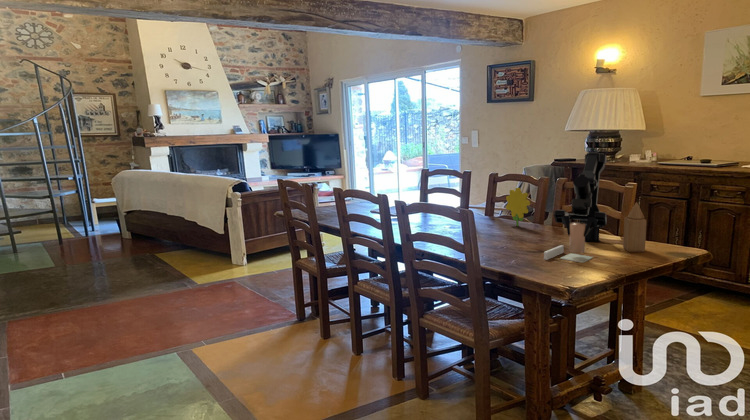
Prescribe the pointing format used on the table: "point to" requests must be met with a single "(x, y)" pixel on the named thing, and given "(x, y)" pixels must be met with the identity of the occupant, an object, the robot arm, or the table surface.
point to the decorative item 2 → (634, 230)
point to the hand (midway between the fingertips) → (576, 235)
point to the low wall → (553, 252)
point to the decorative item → (517, 204)
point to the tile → (576, 257)
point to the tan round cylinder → (577, 237)
